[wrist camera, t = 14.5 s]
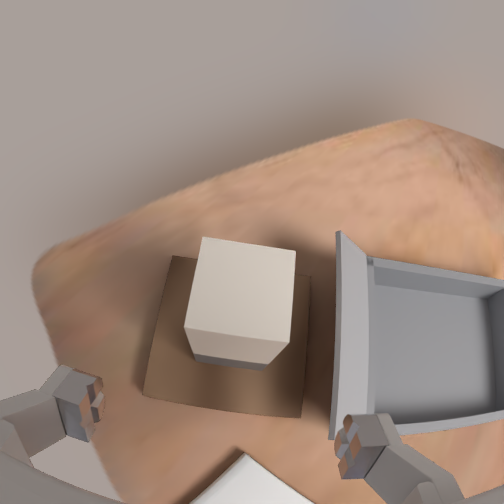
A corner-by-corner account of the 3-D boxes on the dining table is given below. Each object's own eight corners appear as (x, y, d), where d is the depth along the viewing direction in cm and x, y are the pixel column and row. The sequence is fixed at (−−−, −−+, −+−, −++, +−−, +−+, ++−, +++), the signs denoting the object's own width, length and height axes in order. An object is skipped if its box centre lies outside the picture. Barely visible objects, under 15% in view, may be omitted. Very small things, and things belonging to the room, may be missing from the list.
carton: (505, 296, 28) (541, 272, 23) (514, 414, 21) (557, 403, 16) (313, 269, 27) (336, 229, 22) (301, 435, 21) (329, 439, 15)
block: (268, 309, 24) (295, 250, 16) (261, 370, 22) (289, 342, 14) (206, 300, 24) (202, 236, 16) (196, 361, 21) (184, 326, 14)
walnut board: (306, 282, 27) (310, 276, 25) (296, 418, 21) (300, 418, 20) (174, 262, 26) (172, 255, 25) (145, 396, 21) (142, 395, 20)
